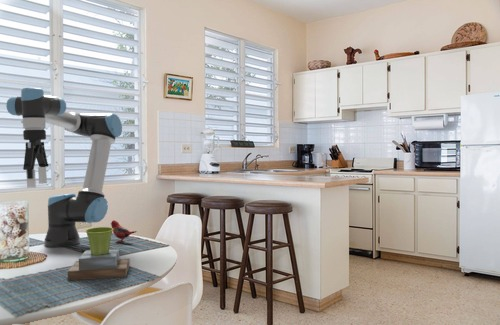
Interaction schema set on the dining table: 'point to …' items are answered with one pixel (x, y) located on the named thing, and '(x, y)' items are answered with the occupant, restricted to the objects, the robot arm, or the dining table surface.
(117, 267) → the brick stand
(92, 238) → the plant pot
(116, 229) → the decorative bird figurine
